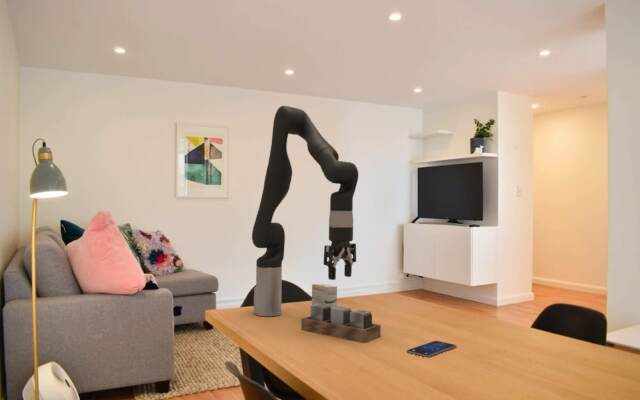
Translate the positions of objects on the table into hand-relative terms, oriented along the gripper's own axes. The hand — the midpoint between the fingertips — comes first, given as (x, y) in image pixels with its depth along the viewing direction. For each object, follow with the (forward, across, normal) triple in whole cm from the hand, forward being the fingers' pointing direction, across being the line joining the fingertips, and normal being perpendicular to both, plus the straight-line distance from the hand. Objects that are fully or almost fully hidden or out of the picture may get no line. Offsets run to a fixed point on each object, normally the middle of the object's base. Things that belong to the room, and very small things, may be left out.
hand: (340, 278), depth 145 cm
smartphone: (+17, -2, +30) cm, 34 cm away
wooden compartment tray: (+17, 0, 0) cm, 17 cm away
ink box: (+17, -12, -15) cm, 26 cm away
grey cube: (+15, 0, 0) cm, 15 cm away
